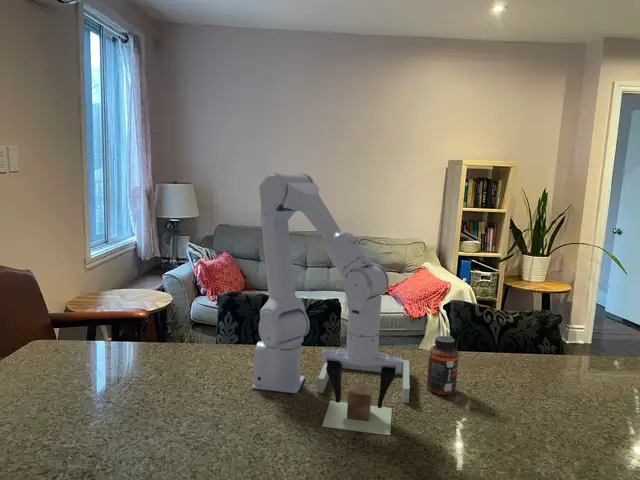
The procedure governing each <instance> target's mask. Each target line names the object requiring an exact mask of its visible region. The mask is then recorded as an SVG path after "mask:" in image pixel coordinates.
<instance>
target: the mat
mask: <svg viewBox="0 0 640 480" xmlns="http://www.w3.org/2000/svg"><path fill="white" fill-rule="evenodd" d="M347 406H348V402H345V401H340V403H336V400H330V401H329V404H328V407H327V411H326V413H325V416H324V419H323V422H322V425H321V427H322V428H329V429H337V430H346V431H354V432H360V433H367V434H368V433H369V434H375V435H384V436H391V430H392V428H391V427H392V412H393V411H392V410H393V408H392V407H385V406H382V408H378V405H371V409H370V416H369V422H368V421H361V420H353V419H347Z"/></svg>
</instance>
